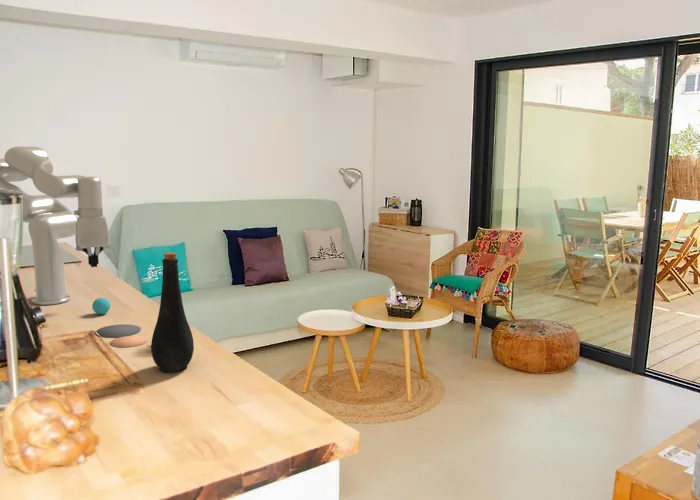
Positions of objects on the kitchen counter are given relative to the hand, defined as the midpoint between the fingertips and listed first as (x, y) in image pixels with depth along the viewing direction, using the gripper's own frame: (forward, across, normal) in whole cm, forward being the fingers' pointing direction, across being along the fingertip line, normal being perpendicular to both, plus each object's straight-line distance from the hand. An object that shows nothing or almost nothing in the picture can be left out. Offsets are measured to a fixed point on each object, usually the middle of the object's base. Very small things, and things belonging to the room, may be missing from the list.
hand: (93, 266), depth 210 cm
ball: (+12, 0, -9) cm, 15 cm away
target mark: (+15, 0, -31) cm, 35 cm away
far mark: (+15, 0, -43) cm, 46 cm away
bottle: (+15, +4, -70) cm, 72 cm away
